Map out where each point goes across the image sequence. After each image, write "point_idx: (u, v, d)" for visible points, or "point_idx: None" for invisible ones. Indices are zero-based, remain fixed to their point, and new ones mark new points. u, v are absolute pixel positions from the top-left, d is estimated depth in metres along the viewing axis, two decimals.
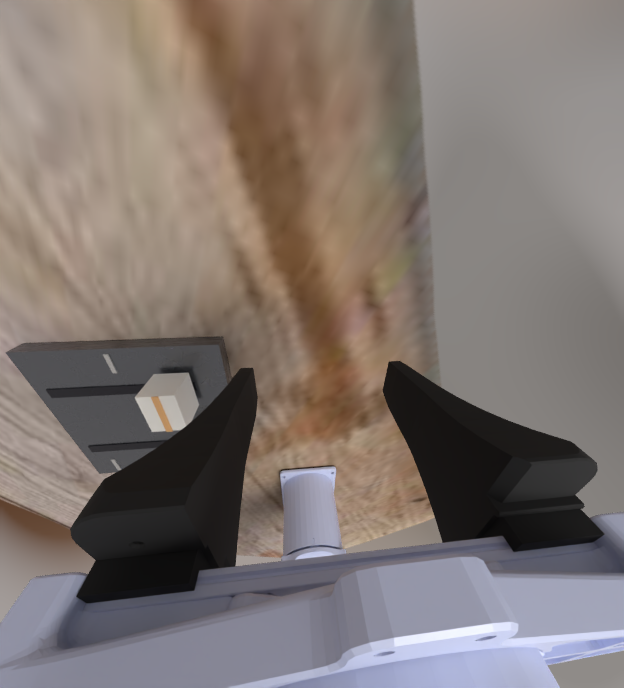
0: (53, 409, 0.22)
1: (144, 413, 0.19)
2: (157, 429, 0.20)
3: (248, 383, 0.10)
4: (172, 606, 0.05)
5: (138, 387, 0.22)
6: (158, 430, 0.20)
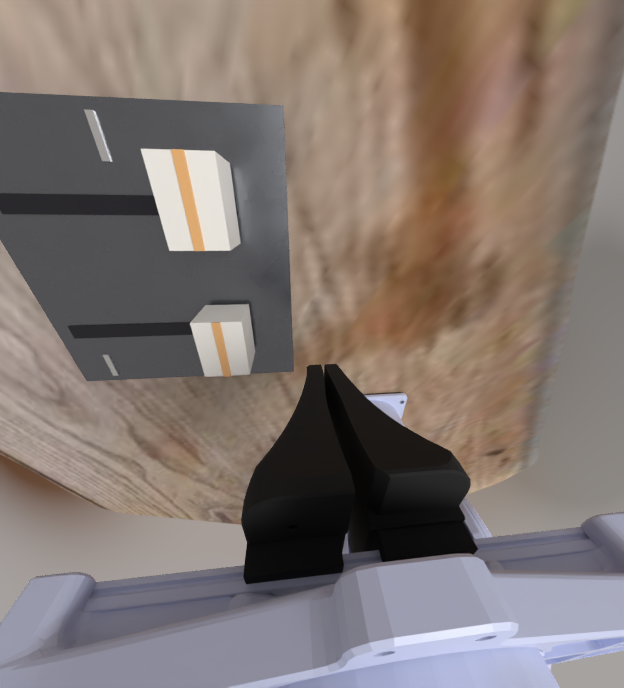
0: (7, 243, 0.14)
1: (157, 198, 0.11)
2: (178, 246, 0.12)
3: None
4: (172, 606, 0.05)
5: (144, 202, 0.13)
6: (180, 247, 0.12)
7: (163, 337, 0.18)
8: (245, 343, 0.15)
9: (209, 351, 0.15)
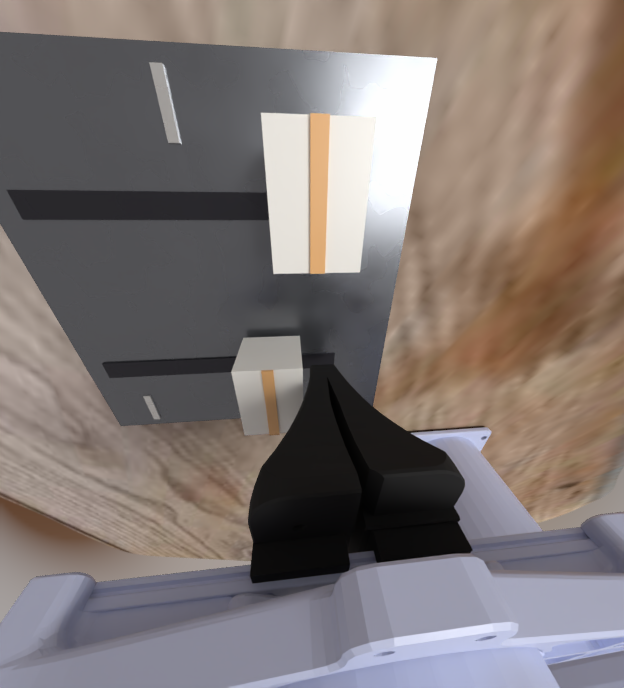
0: (28, 260, 0.10)
1: (272, 195, 0.07)
2: (287, 267, 0.08)
3: (326, 379, 0.11)
4: (172, 606, 0.05)
5: (220, 202, 0.10)
6: (290, 269, 0.08)
7: (221, 374, 0.14)
8: (302, 394, 0.11)
9: (254, 406, 0.11)
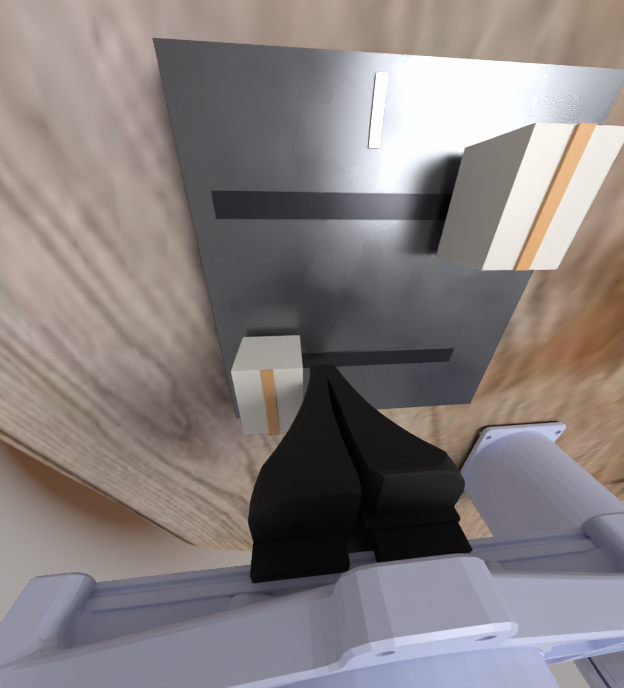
0: (207, 257, 0.11)
1: (513, 197, 0.07)
2: (496, 264, 0.08)
3: (326, 379, 0.11)
4: (172, 606, 0.05)
5: (395, 203, 0.10)
6: (498, 266, 0.08)
7: (344, 368, 0.14)
8: (302, 393, 0.11)
9: (254, 406, 0.11)
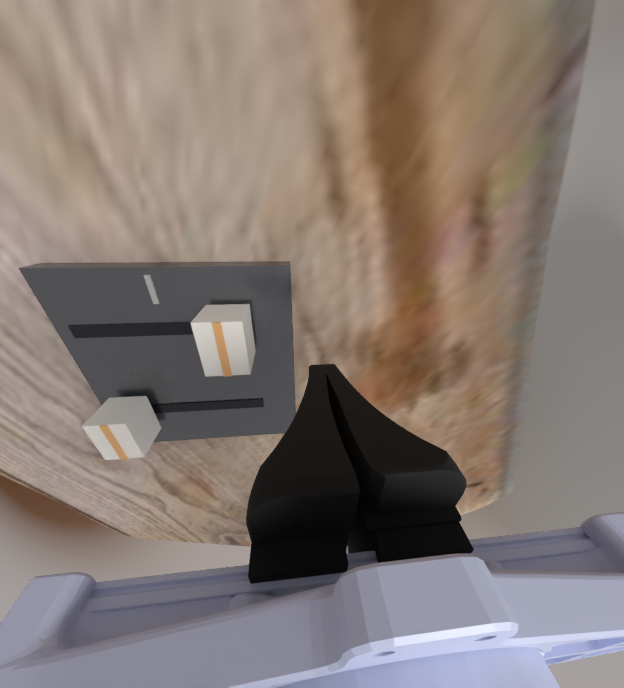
0: (75, 355, 0.18)
1: (199, 348, 0.15)
2: (212, 373, 0.16)
3: None
4: (172, 606, 0.05)
5: (182, 326, 0.17)
6: (213, 374, 0.16)
7: (190, 412, 0.22)
8: (134, 436, 0.18)
9: (104, 443, 0.18)
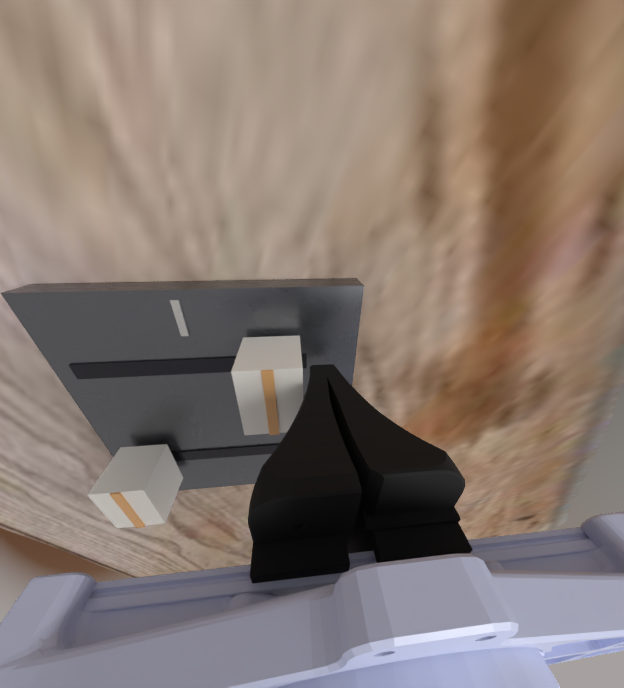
0: (78, 399, 0.14)
1: (240, 402, 0.11)
2: (254, 431, 0.12)
3: (326, 379, 0.11)
4: (172, 606, 0.05)
5: (217, 362, 0.13)
6: (256, 432, 0.12)
7: (218, 458, 0.18)
8: (154, 501, 0.14)
9: (115, 511, 0.14)
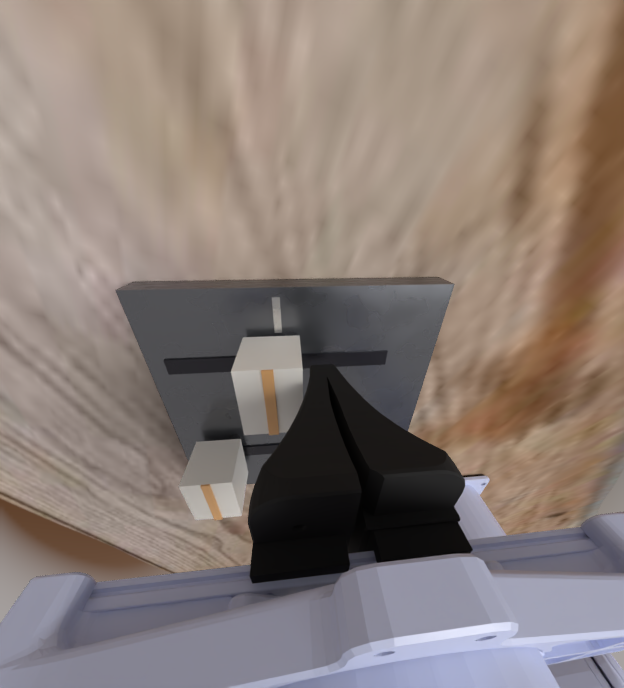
0: (164, 394, 0.14)
1: (240, 402, 0.11)
2: (253, 431, 0.12)
3: (326, 379, 0.11)
4: (172, 606, 0.05)
5: None
6: (255, 432, 0.12)
7: None
8: (236, 494, 0.14)
9: (199, 504, 0.14)
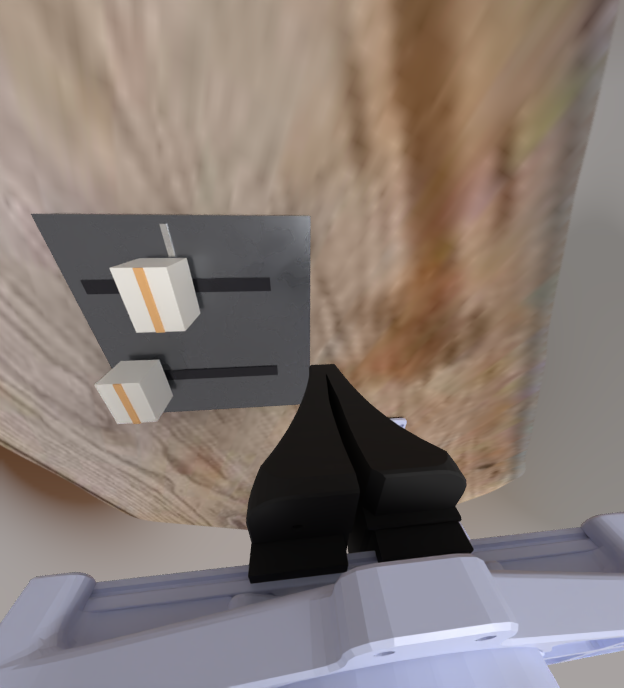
0: (87, 314, 0.17)
1: (124, 298, 0.14)
2: (143, 329, 0.15)
3: None
4: (172, 606, 0.05)
5: (198, 283, 0.17)
6: (145, 330, 0.15)
7: (202, 379, 0.21)
8: (148, 397, 0.18)
9: (116, 405, 0.17)
